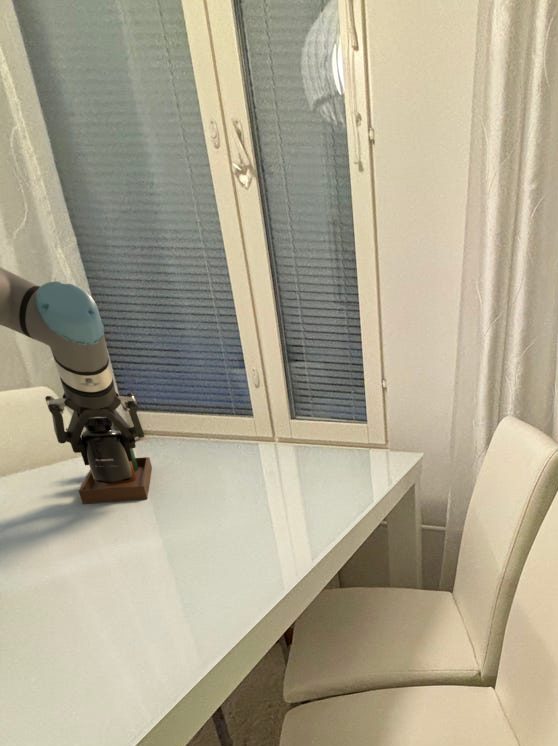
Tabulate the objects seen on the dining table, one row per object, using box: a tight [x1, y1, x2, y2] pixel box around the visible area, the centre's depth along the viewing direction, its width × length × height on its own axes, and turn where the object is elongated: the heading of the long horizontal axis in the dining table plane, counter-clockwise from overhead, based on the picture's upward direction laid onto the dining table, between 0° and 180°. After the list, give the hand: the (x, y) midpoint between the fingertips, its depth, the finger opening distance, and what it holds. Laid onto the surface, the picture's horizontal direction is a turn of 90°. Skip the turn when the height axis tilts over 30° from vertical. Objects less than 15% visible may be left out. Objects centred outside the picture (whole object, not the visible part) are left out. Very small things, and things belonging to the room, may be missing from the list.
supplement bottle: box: [81, 417, 132, 483], centre depth 108 cm, size 7×7×12 cm
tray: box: [77, 456, 153, 505], centre depth 120 cm, size 11×29×3 cm, turn 26°
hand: (107, 457), depth 111 cm, fingers closed on supplement bottle, 7 cm apart
